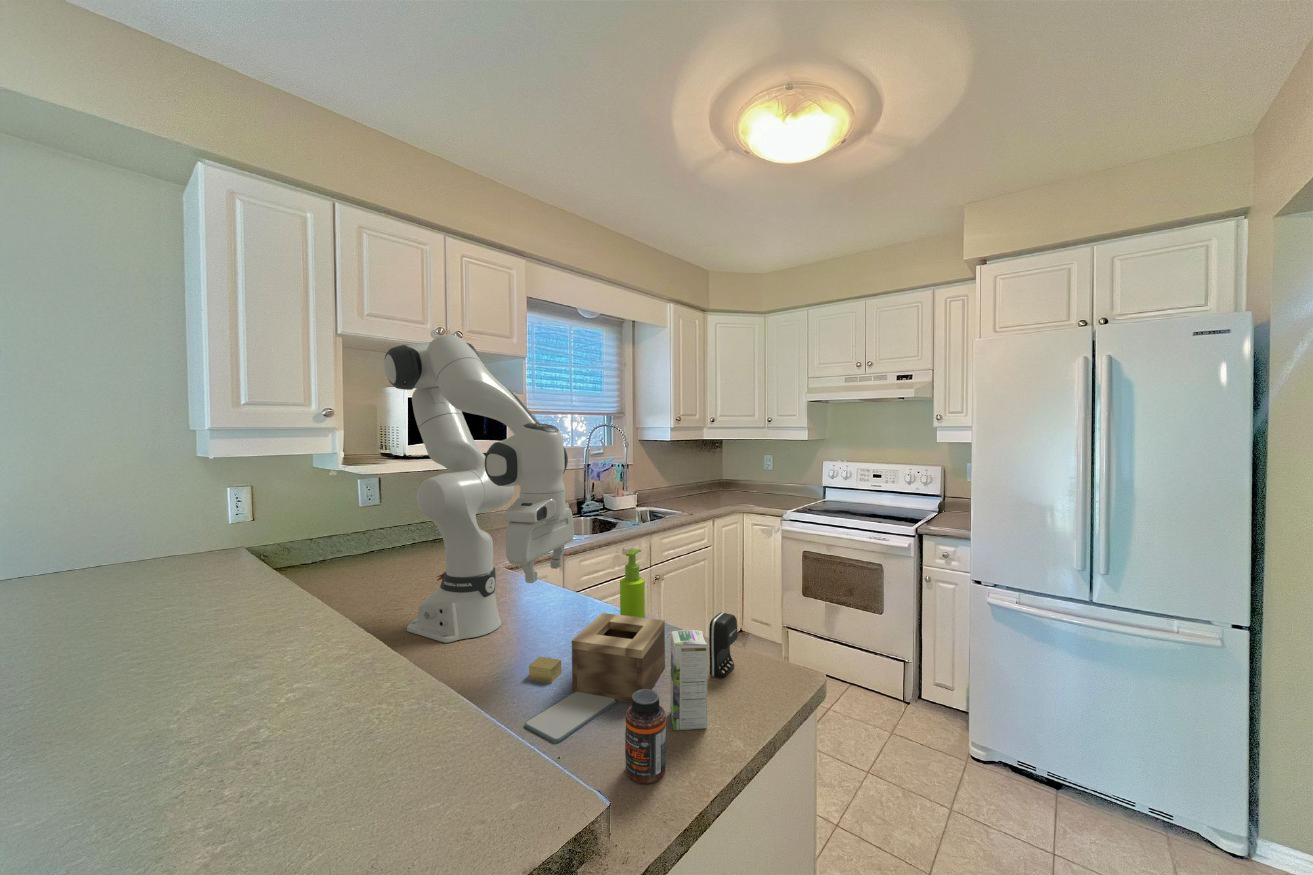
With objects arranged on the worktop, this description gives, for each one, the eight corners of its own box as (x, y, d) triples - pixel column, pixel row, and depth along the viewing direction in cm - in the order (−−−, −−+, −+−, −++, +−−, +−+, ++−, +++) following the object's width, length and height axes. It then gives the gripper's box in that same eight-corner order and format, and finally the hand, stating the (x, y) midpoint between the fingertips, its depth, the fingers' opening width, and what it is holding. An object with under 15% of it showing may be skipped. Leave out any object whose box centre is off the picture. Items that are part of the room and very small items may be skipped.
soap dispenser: (650, 629, 123) (649, 548, 123) (639, 641, 117) (639, 555, 116) (627, 626, 125) (626, 546, 124) (616, 637, 119) (615, 553, 118)
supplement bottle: (617, 779, 72) (617, 701, 72) (636, 753, 78) (635, 681, 77) (656, 791, 70) (655, 711, 69) (672, 764, 75) (671, 689, 75)
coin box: (572, 692, 95) (571, 640, 94) (602, 658, 108) (601, 612, 108) (642, 704, 91) (642, 650, 90) (664, 668, 104) (664, 620, 104)
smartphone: (618, 699, 92) (556, 740, 80) (618, 704, 92) (556, 746, 80) (584, 685, 97) (522, 722, 85) (584, 690, 97) (522, 728, 85)
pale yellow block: (529, 680, 100) (528, 665, 100) (539, 670, 104) (539, 656, 104) (551, 684, 98) (551, 669, 98) (561, 674, 102) (561, 659, 102)
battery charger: (726, 682, 98) (726, 624, 98) (708, 677, 100) (708, 620, 100) (739, 666, 104) (739, 612, 104) (722, 662, 106) (722, 609, 106)
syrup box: (669, 711, 89) (669, 630, 88) (702, 709, 89) (702, 628, 89) (673, 731, 83) (672, 644, 82) (709, 729, 83) (708, 643, 83)
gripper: (554, 496, 111) (555, 559, 111) (498, 513, 91) (500, 589, 92) (580, 497, 109) (581, 561, 109) (529, 515, 89) (530, 592, 90)
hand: (544, 574), depth 100 cm, fingers open, 8 cm apart
